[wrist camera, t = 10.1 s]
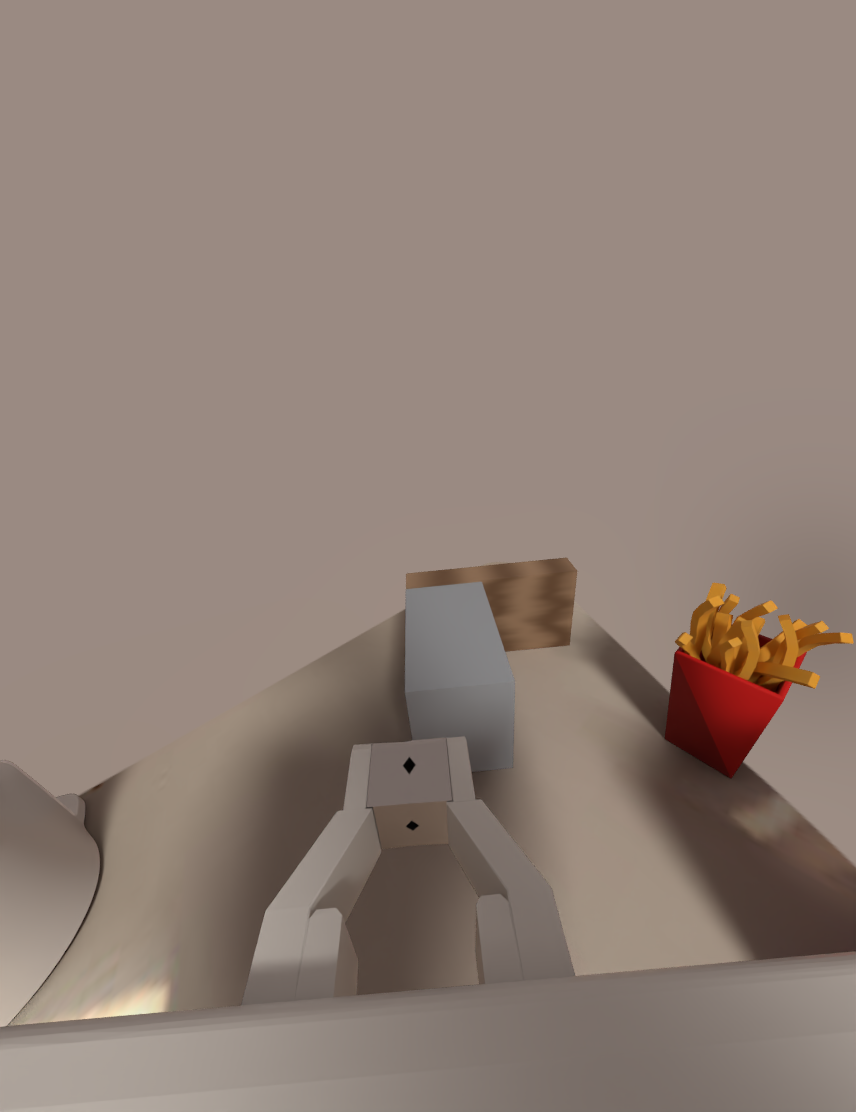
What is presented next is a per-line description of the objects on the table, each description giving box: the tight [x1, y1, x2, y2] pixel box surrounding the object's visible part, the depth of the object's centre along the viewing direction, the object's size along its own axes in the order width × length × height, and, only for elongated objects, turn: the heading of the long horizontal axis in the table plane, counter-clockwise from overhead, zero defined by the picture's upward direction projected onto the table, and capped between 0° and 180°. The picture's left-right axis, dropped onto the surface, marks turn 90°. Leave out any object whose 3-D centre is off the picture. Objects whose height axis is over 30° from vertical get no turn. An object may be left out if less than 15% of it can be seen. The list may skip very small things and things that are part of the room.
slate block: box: [405, 582, 515, 772], centre depth 36 cm, size 8×14×10 cm, turn 3°
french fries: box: [665, 583, 853, 778], centre depth 28 cm, size 9×8×15 cm
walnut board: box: [406, 558, 577, 652], centre depth 44 cm, size 18×3×10 cm, turn 93°
